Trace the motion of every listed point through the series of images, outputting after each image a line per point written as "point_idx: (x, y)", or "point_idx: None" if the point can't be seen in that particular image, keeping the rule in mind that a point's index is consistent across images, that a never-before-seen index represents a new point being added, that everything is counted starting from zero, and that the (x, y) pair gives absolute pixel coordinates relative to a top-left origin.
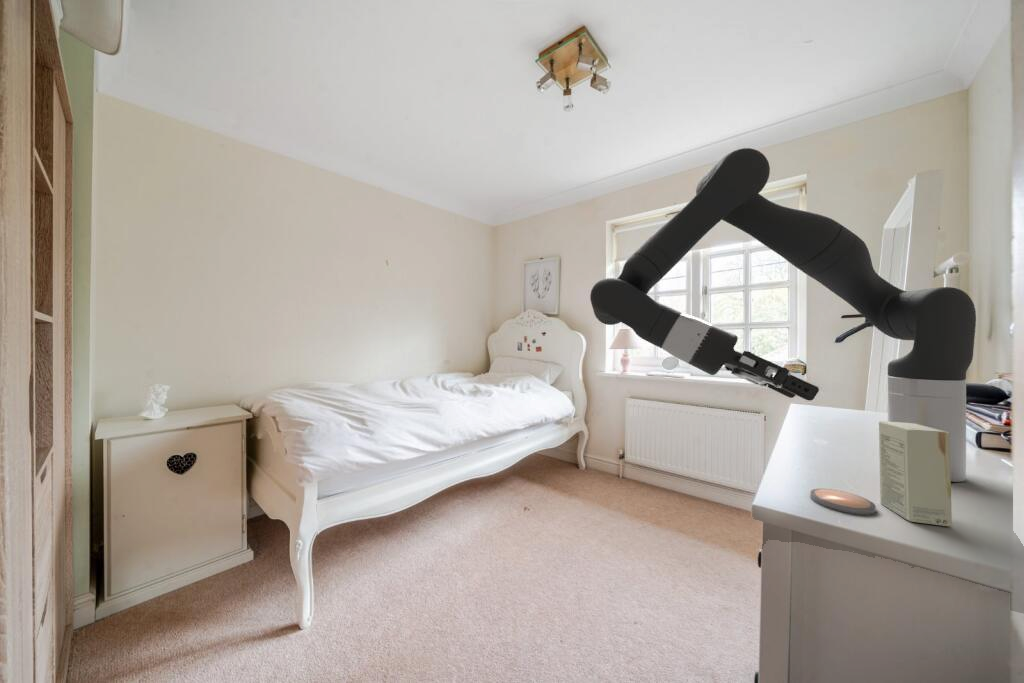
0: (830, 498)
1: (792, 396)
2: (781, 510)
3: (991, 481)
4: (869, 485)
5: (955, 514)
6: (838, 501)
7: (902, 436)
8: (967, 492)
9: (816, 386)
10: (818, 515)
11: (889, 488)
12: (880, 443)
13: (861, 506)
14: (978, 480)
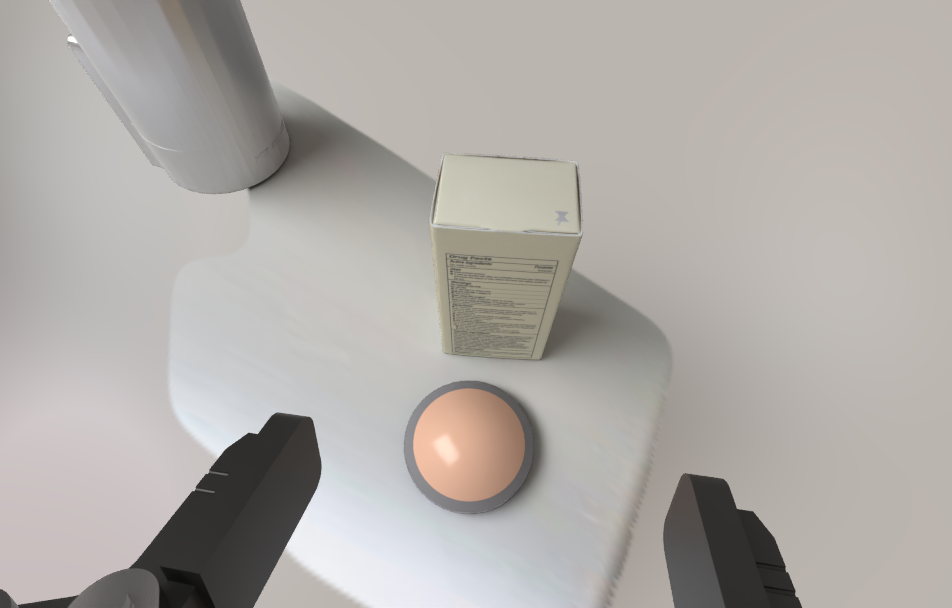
0: (481, 474)
1: (318, 474)
2: None
3: (274, 89)
4: (325, 306)
5: None
6: (498, 464)
7: (554, 252)
8: (341, 160)
9: (729, 488)
10: (570, 553)
11: (482, 335)
12: (444, 272)
13: (515, 424)
14: None
